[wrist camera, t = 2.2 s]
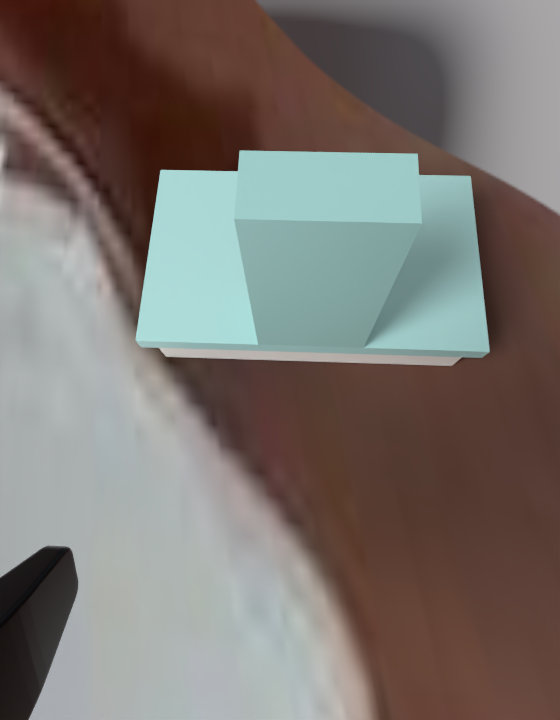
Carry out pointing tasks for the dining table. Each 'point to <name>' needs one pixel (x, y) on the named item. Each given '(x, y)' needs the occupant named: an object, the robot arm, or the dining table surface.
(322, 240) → the lid
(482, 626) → the dining table surface
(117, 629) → the dining table surface
